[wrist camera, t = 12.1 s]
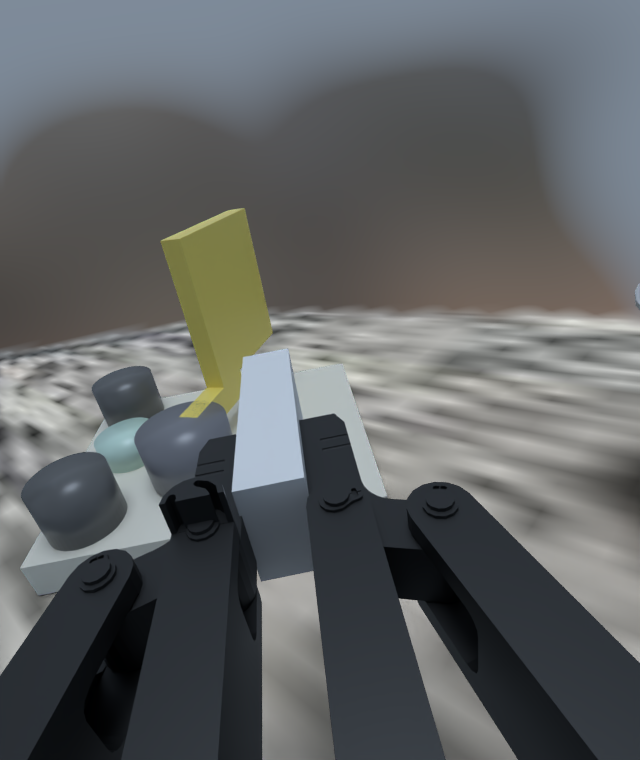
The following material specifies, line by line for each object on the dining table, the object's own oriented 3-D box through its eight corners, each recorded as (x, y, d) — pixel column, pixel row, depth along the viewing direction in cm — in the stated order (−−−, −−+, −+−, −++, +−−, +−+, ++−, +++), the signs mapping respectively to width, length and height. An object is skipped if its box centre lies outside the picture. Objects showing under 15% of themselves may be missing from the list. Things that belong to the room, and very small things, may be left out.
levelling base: (38, 595, 23) (-11, 523, 21) (119, 429, 37) (95, 373, 34) (390, 525, 24) (381, 446, 21) (345, 385, 37) (336, 327, 35)
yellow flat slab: (213, 503, 24) (132, 276, 18) (134, 494, 26) (37, 283, 20) (303, 368, 36) (270, 204, 30) (245, 368, 38) (203, 213, 32)
